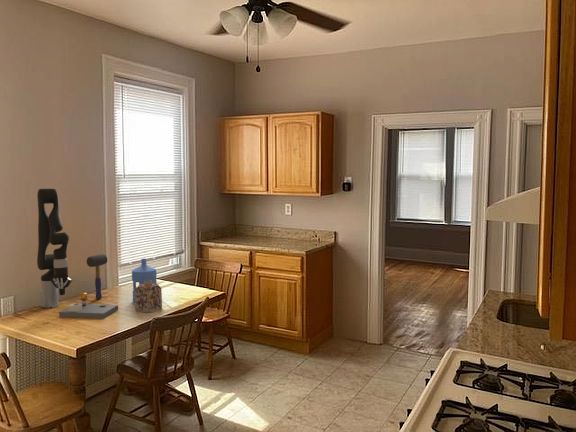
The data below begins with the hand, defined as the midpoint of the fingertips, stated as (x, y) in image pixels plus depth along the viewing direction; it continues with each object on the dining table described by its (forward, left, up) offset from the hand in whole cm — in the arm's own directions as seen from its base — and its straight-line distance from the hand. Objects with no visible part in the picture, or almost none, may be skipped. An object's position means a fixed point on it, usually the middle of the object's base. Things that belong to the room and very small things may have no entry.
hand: (62, 294), depth 301 cm
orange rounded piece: (+8, +10, -9) cm, 16 cm away
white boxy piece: (+8, 0, -9) cm, 12 cm away
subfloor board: (+14, +5, -12) cm, 19 cm away
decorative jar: (+47, +16, -13) cm, 51 cm away
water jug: (+36, +36, -13) cm, 52 cm away
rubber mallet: (+3, +37, -13) cm, 39 cm away
